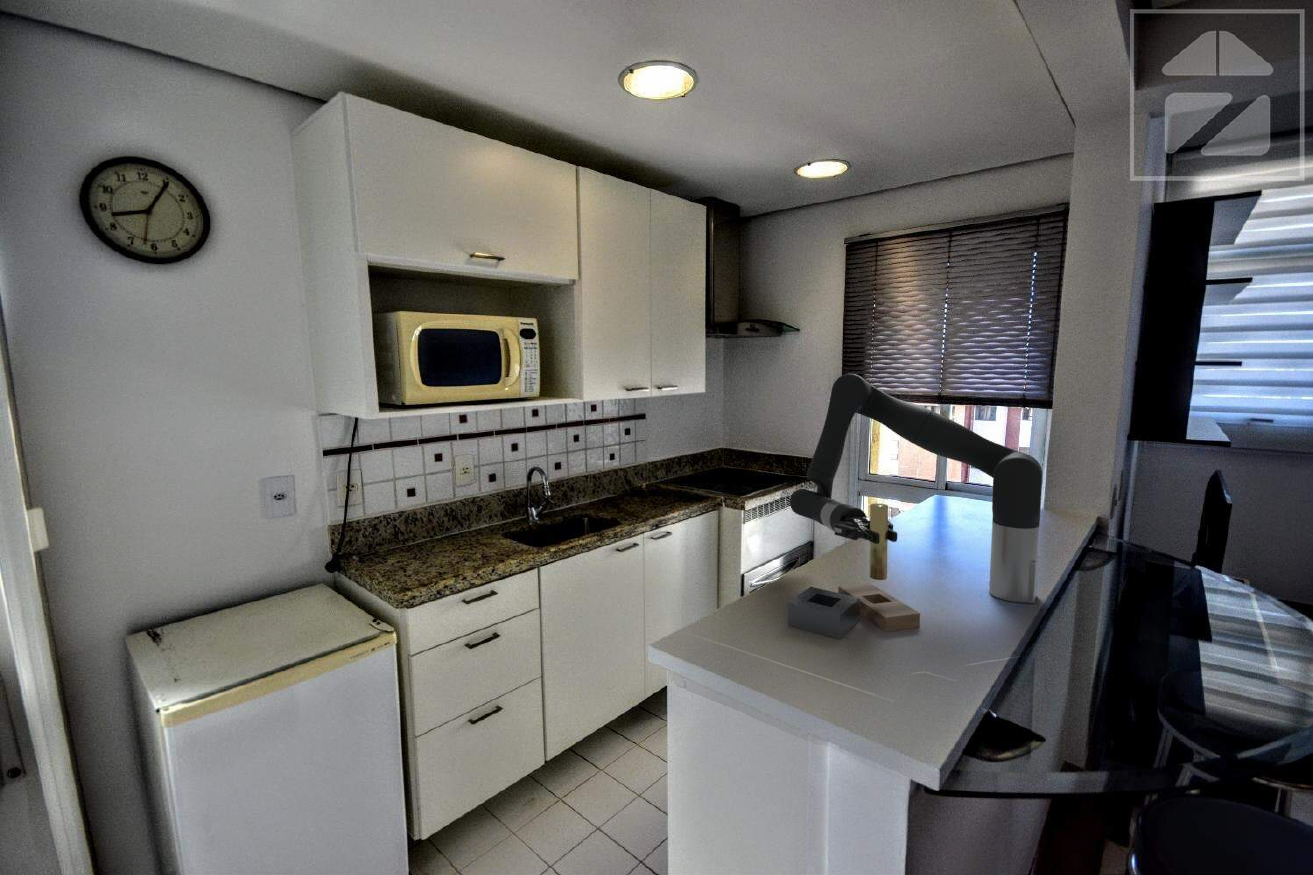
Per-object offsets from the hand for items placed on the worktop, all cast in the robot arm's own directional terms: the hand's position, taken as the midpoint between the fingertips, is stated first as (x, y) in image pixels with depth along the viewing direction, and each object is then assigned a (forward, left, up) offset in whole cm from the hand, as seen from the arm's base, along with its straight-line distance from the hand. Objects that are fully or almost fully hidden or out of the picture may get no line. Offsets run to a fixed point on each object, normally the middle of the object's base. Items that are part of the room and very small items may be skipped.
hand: (886, 538), depth 121 cm
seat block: (+9, +10, -18) cm, 22 cm away
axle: (+2, -2, -10) cm, 10 cm away
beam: (+2, -2, -18) cm, 18 cm away
